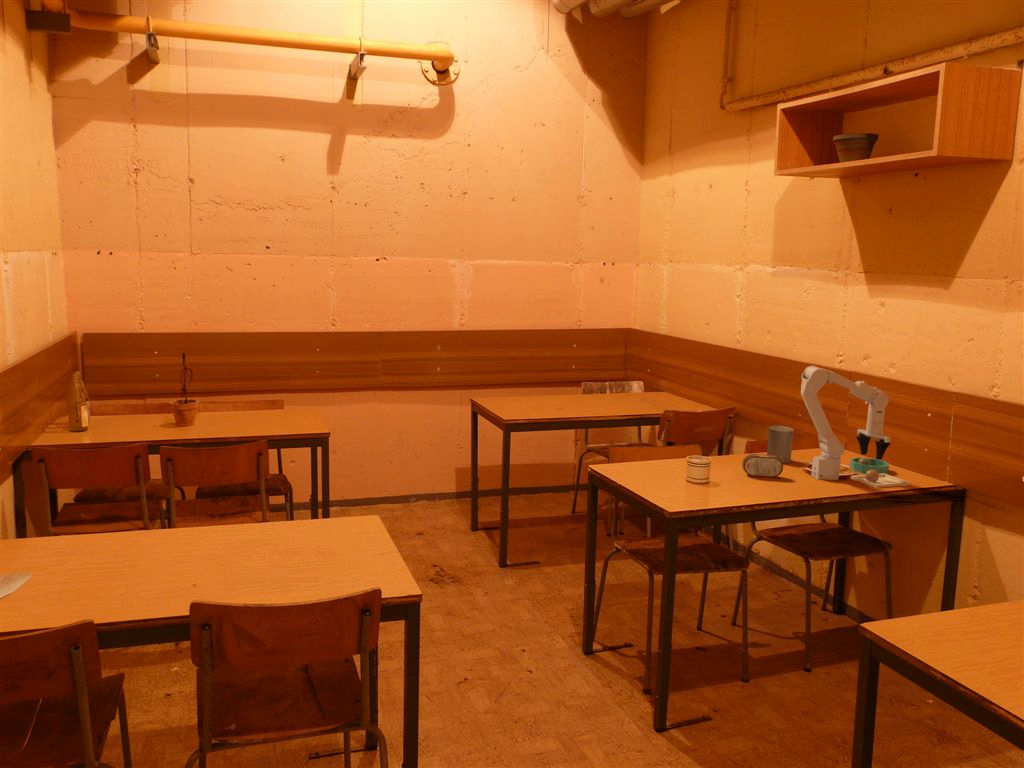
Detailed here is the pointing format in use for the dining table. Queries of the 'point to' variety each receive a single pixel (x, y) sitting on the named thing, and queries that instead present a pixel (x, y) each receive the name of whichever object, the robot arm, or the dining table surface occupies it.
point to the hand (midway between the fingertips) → (871, 456)
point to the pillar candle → (780, 442)
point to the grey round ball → (864, 461)
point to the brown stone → (872, 476)
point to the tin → (762, 465)
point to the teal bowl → (875, 465)
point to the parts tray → (882, 481)
